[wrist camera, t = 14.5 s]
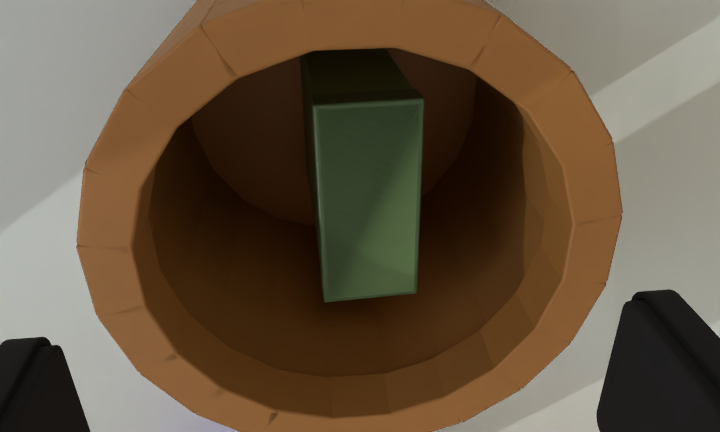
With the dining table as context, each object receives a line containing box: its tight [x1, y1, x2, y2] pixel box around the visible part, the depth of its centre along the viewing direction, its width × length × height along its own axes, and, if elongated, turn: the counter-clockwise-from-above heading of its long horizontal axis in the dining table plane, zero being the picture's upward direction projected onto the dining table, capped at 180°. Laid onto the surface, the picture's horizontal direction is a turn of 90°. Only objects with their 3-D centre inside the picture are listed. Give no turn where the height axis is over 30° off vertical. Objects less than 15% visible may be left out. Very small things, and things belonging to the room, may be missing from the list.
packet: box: [300, 48, 425, 302], centre depth 18 cm, size 3×6×8 cm, turn 0°
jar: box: [76, 0, 623, 432], centre depth 18 cm, size 11×11×11 cm
